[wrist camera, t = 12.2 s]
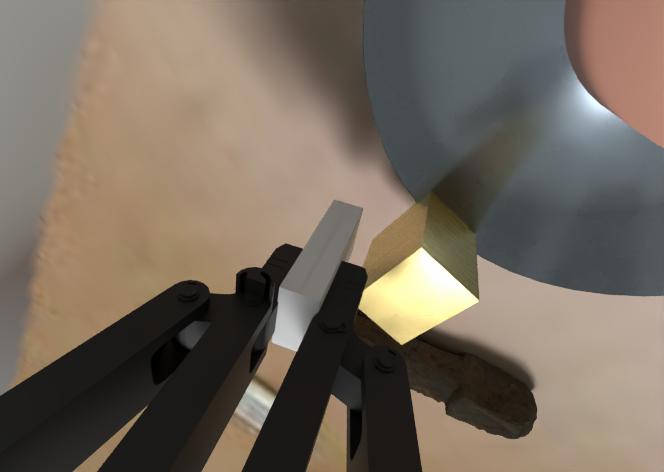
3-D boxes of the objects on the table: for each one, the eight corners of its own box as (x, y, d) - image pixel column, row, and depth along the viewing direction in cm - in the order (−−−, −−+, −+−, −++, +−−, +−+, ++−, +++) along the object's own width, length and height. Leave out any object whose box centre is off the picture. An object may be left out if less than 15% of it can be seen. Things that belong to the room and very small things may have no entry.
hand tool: (289, 310, 31) (265, 353, 27) (300, 275, 29) (275, 317, 25) (511, 406, 29) (518, 466, 26) (541, 377, 27) (554, 439, 23)
